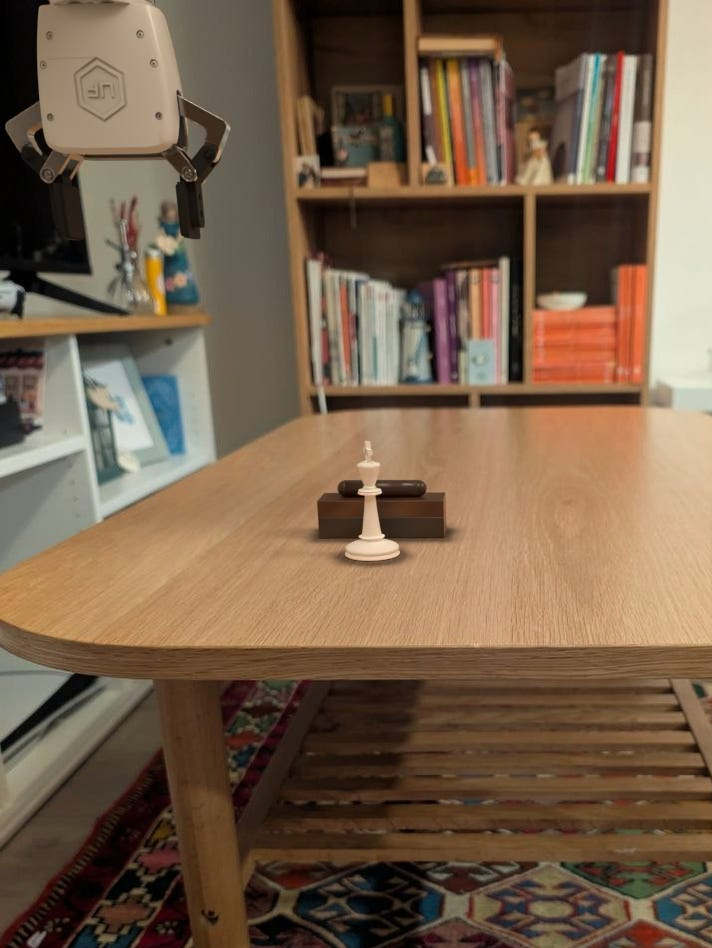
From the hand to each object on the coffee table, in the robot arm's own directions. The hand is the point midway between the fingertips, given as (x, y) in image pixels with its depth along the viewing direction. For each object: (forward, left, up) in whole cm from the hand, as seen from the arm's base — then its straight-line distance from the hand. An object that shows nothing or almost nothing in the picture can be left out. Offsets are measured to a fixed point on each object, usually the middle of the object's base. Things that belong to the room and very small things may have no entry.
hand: (132, 238), depth 77 cm
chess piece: (+17, -8, -26) cm, 32 cm away
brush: (+20, -1, -26) cm, 33 cm away
